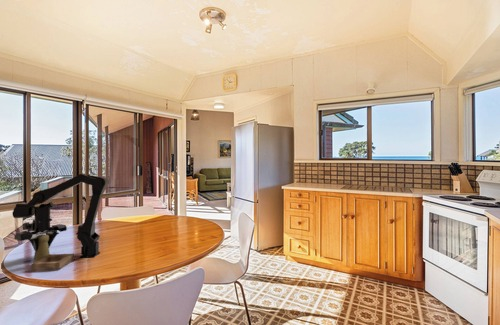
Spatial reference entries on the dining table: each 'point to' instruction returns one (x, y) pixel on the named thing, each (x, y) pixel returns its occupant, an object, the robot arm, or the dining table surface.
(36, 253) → the cork
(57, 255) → the socket block
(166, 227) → the dining table surface
